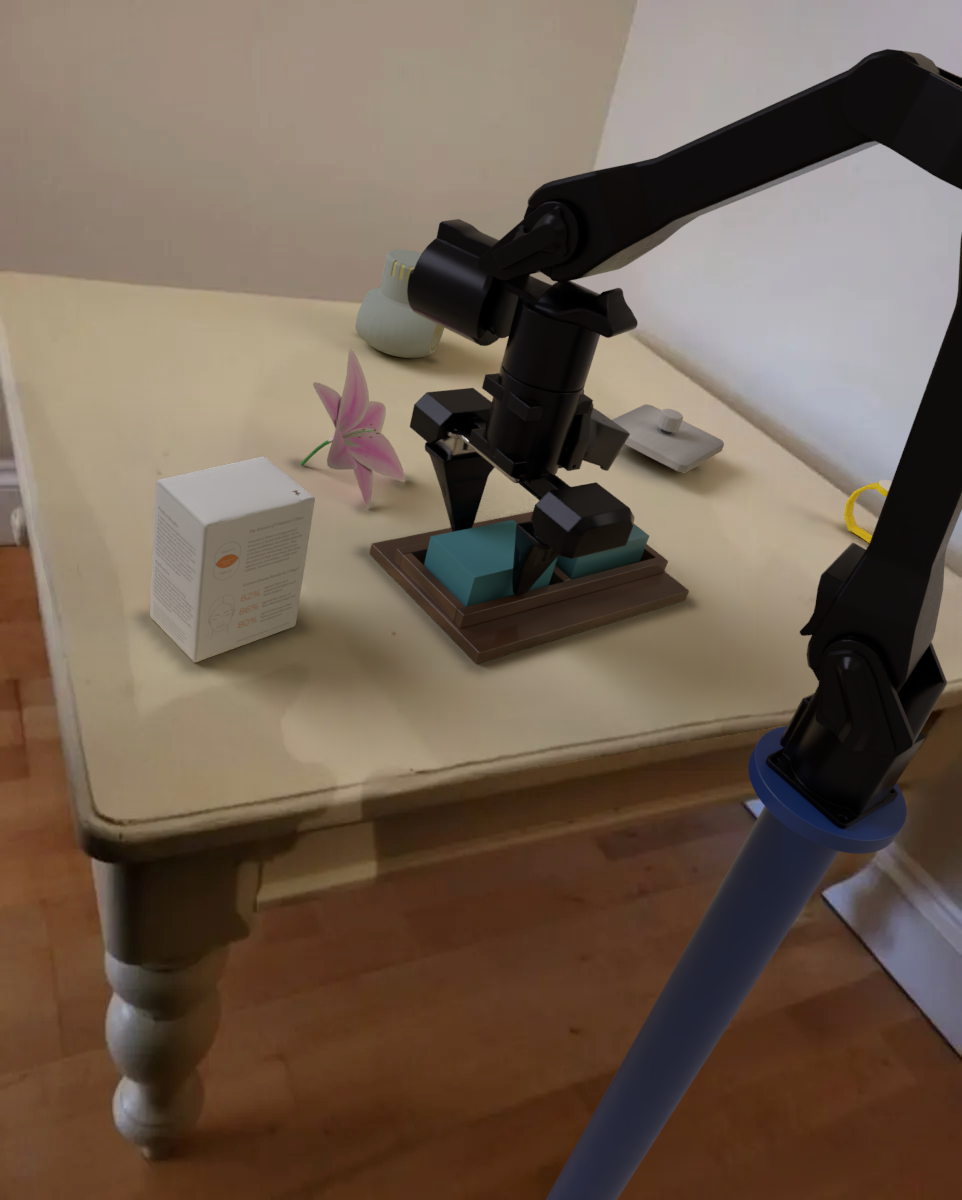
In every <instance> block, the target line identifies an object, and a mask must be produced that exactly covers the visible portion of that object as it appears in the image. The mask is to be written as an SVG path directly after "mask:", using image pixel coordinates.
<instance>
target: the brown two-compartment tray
mask: <svg viewBox="0 0 962 1200" xmlns="http://www.w3.org/2000/svg"><path fill="white" fill-rule="evenodd" d="M532 514H533V511H528V512H523V513H517V514H513V515H508V516H502V517H499V518H498V517H497V518H493V519H487V520H483V521H477V522H474V524H473V526H472V528H474V527H479V526H484V525H489V524H494V523H499V522H504V521H509V520H514V521H515V522H516V523H517V524H518V523H523V522H528V521H532V520H531V517H532ZM450 532H452V529H451V527H448V528H443V529H438V530H432V531H427V532H423V533H418V534H412V535H408V536H402V537H397V538H392V539H388V540H387V539H386V540H382V541H377V542H372V543H371V544H370V548H369V555H370V556H371V557H372V558H373V559H374V561H376V562H377V563H378V564H379V566H381V567H382V568H383V570H384V571H385V572H386V573H387V574H388V575H389V576H390V577H391V578H392V579H393V580H394V581H395V582H396V583H397V584H398V585H399V586H400V587H401V588H402V589H403V590H404V591H405V592H406V594H408V595H409V596H410V597H411V598H412V600H414V601H415V603H416V604H418V606H419V607H420V608H421V609H423V611H424V612H426V614H427V615H428V616H429V617H430V618H431V619H432V620H433V621H434V622H435V623H436V625H438V626H439V627H440V628H441V629H442V630H443V631H444V633H446V635H448V636H449V637H450V639H451V640H452V641H453V642H454V643H455V644H456V645H457V646H458V647H459V648H460V649H461V650H462V651H463V652H464V653H465V654H466V655H467V656H468V657H469V658H470V659H471V660H472V661H473V662H474V663H475V664H480V663H484V662H486V661H490V660H492V659H497V658H500V657H503V656H506V655H510V654H514V653H517V652H519V651H523V650H526V649H530V648H532V647H537V646H539V645H542V644H546V643H549V642H552V641H556V640H559V639H562V638H565V637H569V636H572V635H575V634H578V633H582V632H585V631H588V630H592V629H595V628H598V627H602V626H605V625H608V624H611V623H615V622H618V621H621V620H625V619H627V618H631V617H635V616H637V615H642V614H644V613H648V612H651V611H654V610H659V609H661V608H663V607H667V606H670V605H673V604H677V603H680V602H683V601H686V599H687V597H688V595H689V592H690V590H689V589H688V588H687V587H685V586H684V585H683V584H682V583H680V582H679V581H677V580H676V578H674V577H673V576H671V575H670V574H669V573H668V572H666V569H667V566H668V563H669V560H667V558H665V556H662V554H660V552H658V551H657V550H656V549H654V548H653V547H651V546H650V545H649V544H648V541H649V539H650V534H648V533H647V532H645V531H644V529H642V528H640V527H639V526H638V525H637V524H635V523H634V525H633V528H632V531H631V534H630V536H629V539H628V542H627V544H626V546H623V547H618V548H614V549H610V550H606V551H602V552H598V553H594V554H590V555H586V556H582V557H577V558H573V559H570V558H567V557H563V556H560V555H559V556H558V557H557V561H556V564H555V567H554V570H553V573H552V576H551V579H550V582H549V585H548V586H545V587H541V588H537V589H534V590H530V591H528V592H527V593H525V594H521V595H518V596H516V595H515V594H514V595H510V596H507V597H503V598H499V599H495V600H491V601H487V602H484V603H480V604H476V605H472V606H468V607H465V605H464V604H463V603H462V602H461V601H459V600H458V599H457V598H456V597H455V596H454V595H453V594H452V593H451V592H450V591H449V590H448V589H447V588H446V587H445V586H444V585H443V584H442V583H441V582H440V581H439V580H438V579H437V578H436V577H435V576H434V575H433V574H432V573H431V572H430V571H429V570H428V569H427V568H426V567H425V566H424V563H425V559H426V554H427V550H428V546H429V542H430V538H431V536H435V535H440V534H445V533H450Z"/></svg>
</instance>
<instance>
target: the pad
mask: <svg viewBox="0 0 962 1200" xmlns="http://www.w3.org/2000/svg"><path fill="white" fill-rule="evenodd" d="M516 525H517V523H516V522H515V521H514V520H509V521H504V522H499V523H494V524H489V525H484V526H479V527H474V528H470V529H465V530H460V531H455V532H450V533H445V534H440V535H435V536H431V538H430V542H429V546H428V550H427V554H426V559H425V563H424V566H425V567H426V568H427V569H428V570H429V571H430V572H431V573H432V574H433V575H434V576H435V577H436V578H437V579H438V580H439V581H440V582H441V583H442V584H443V585H444V586H445V587H446V588H447V589H448V590H449V591H450V592H451V593H452V594H453V595H454V596H455V597H456V598H457V599H458V600H459V601H461V602H462V603H463V604H464V605H465V607H468V606H472V605H476V604H480V603H484V602H487V601H491V600H495V599H499V598H503V597H507V596H510V595H514V593H513V586H512V574H513V562H514V549H515V535H516ZM556 561H557V558H556V559H555V560H554V561H553V562H552V563H551V565H550V566H549V567H548V568H547V569H546V571H545V572H544V573H543V574H542V575H541V576H540V578H539V579H538V580H537V581H536V582H535V583H534V585H533V586H532V587H531V588H530V589H529V590H528V591H530V590H534V589H537V588H541V587H545V586H548V585H549V582H550V579H551V576H552V573H553V570H554V567H555V564H556Z"/></svg>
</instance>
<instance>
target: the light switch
mask: <svg viewBox="0 0 962 1200" xmlns="http://www.w3.org/2000/svg"><path fill="white" fill-rule="evenodd" d="M683 419H684V416H683V414H682V413H680V412H679V411H678V410H675V409H673V408H664V409H660V408H658V407H656V406H654V405H651V404H647V403H646V404H643V405H640V406H638V407H636V408H634V409H632V410H629V411H628V412H625V413H623V414H621V415H619V416H617V417H614V418H613V419H611V420H612V421H614V422H615V423H616V424H618V425H619V426H621V427H622V428H624V429H625V430H626V431H628V432H629V433H630V435H629V437H628V439H627V440H626V442H625V444H624V445H626V446H628V447H629V448H631V449H633V450H636V452H637V453H639V454H641V455H643V456H645V457H647V458H649V459H651V460H653V461H655V462H657V463H659V464H660V465H663V466H665V467H666V468H668V469H672V470H674V471H675V472H678V473H687V472H689V471H691V470H693V469H695V468H696V467H697V466H699V465H702V464H703V463H704V462H706V461H708V460H709V459H711V458H713V457H714V456H716V455H718V454H719V453H721V452H722V451H723V448H724V446H725V442H724V441H723V440H722V438H719V437H717V436H715V435H713V434H711V433H709V432H707V431H705V430H703V429H701V428H699V427H697V426H695V425H693V424H692V423H689V422H687V421H686V420H683Z"/></svg>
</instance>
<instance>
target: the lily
mask: <svg viewBox="0 0 962 1200" xmlns="http://www.w3.org/2000/svg"><path fill="white" fill-rule="evenodd" d="M312 385H313V389H314V390H315V392H316V394H317V396H318V397H319V400H320V402H321V403H322V405H323V407H324V409H325V410H326V412H327V414H328V416H329V418H330V420H331V423H332V424H333V426H334V433H333V435H332V436H331V437H330V438H328V439H327V440H325V441H324V442H322V443H321V444H319V445H318V446H316V447H315V448H314V449H313V450H312V451H311V452H310V453H309V454H308V455H306V457H305V458H304V459H303V460H302V461H301V462H300V466H302V467H303V466H304V465H306V463H307V462H308V461H309V460H311V458H313V456H314V455H316V453H318V452H319V451H320V450H321V449H323V448H324V447H325V446H327V445H329V444H330V447H329V449H328V454H327V457H326V466H328V468H330V469H332V470H338V471H339V470H340V471H341V470H342V471H345V470H346V471H347V470H353V472H354V476H355V479H356V481H357V484H358V488H359V490H360V493H361V496H362V499H363V503H364V506H365V508H366V509H367V510H368V509H369V508H370V505H371V502H372V497H373V489H374V473H373V472H375V473H377V474H379V475H382V476H385V477H388V478H390V479H392V480H395V481H398V482H401V483H402V482H403V483H404V482H405V481H406V475H405V471H404V468H403V466H402V463H401V461H400V458H399V456H398V454H397V452H396V450H395V448H394V446H393V445H392V443H391V441H390V440H389V439H388V438H387V437H386V436H385V435H384V434H383V433H382V430H383V427H384V424H385V420H386V413H387V409H386V405H385V404H384V403H383V402H382V401H381V402H380V401H377V400H375V401H373V400H370V394H369V393H370V392H369V387H368V383H367V380H366V377H365V373H364V371H363V368H362V365H361V363H360V362H359V358H358V356H357V354H356V353H355V351H354V350H353V349H352V348H349V350H348V355H347V365H346V375H345V381H344V385H343V389H342V393H341V394H340V393H339V392H338V391H337V390H335V389H334V388H331V387H330V386H329V385H327V384H324V383H320V382H316V381H315V382H313V383H312Z"/></svg>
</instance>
